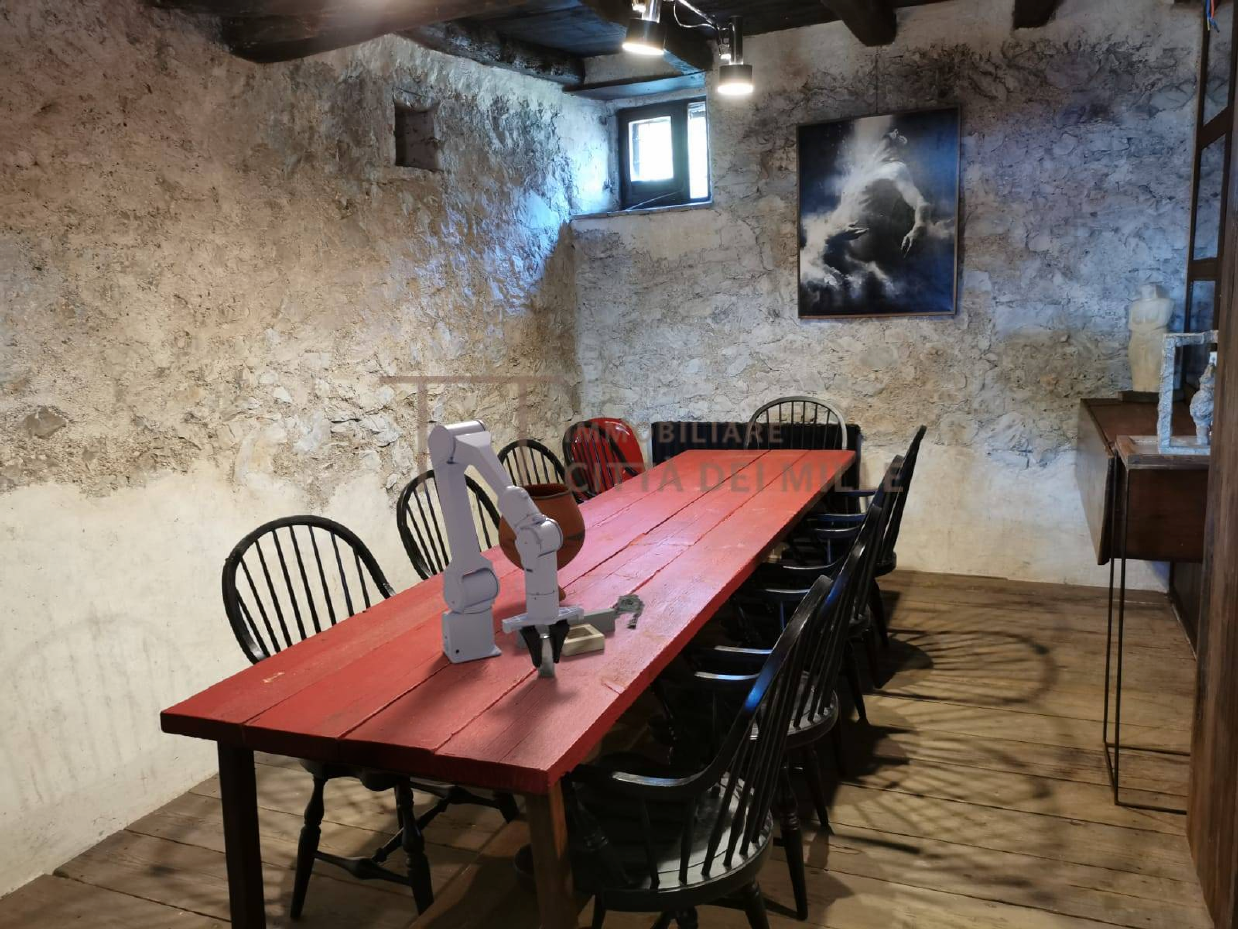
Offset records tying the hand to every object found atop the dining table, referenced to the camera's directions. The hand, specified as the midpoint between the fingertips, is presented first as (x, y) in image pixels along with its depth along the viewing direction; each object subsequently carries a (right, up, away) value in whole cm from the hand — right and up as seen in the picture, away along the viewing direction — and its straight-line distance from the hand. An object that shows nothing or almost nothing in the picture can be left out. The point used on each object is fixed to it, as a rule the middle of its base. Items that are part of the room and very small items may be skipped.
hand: (545, 663), depth 162 cm
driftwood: (+14, +3, +32) cm, 36 cm away
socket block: (+5, 0, +13) cm, 14 cm away
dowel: (0, -2, 0) cm, 2 cm away
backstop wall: (+3, +1, +18) cm, 18 cm away
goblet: (-3, +5, +43) cm, 44 cm away
